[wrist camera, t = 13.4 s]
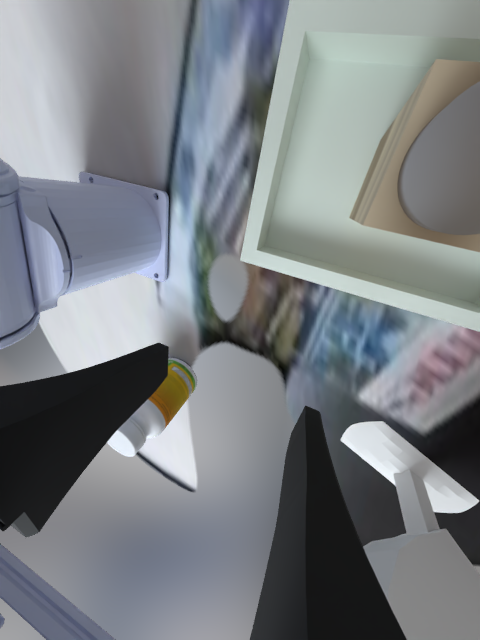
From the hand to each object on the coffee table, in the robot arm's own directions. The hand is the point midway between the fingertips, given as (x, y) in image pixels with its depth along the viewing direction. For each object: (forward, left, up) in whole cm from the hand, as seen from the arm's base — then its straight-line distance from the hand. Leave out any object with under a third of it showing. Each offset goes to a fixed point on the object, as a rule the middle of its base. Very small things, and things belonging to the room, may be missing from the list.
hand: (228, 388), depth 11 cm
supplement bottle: (-9, -13, -11) cm, 19 cm away
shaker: (+5, +10, -10) cm, 15 cm away
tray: (+5, +10, -10) cm, 15 cm away
